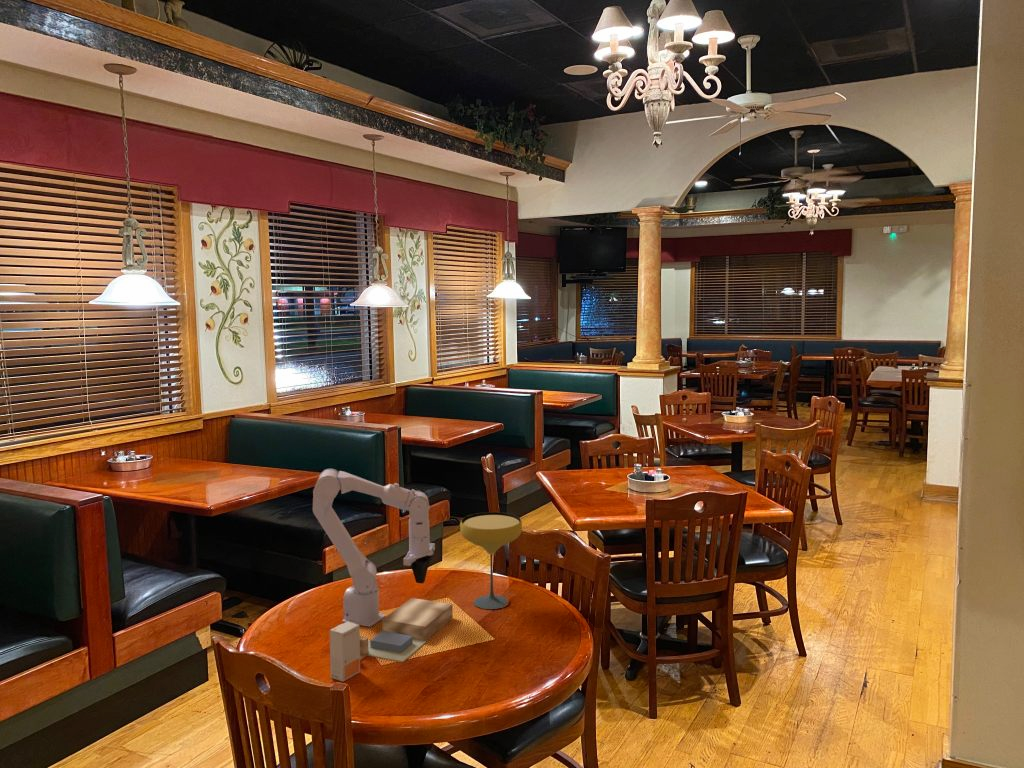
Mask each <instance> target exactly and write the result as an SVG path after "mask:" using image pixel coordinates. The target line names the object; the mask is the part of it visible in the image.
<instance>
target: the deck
mask: <svg viewBox="0 0 1024 768" xmlns="http://www.w3.org/2000/svg"><path fill="white" fill-rule="evenodd" d="M453 614H454V613H453V604H452V603H447V602H440V601H436V600H435V601H434V600H427V599H422V598H415V597H411V598H410V599H408V600H407V601H406V602H404V603H403V604H401V605H400V606H399V607H397V608H396V609H395V610H393V611H392V612H390V613H389V614H387V615H385V617H384V618H382V619H381V620H382V631H386V632H392V633H397V634H403V635H409V636H413V639H416V640H422V641H426V642H427V641H428V639H430V638H431V637H432V636H433V635H435V633H437V632H438V631H439V630H440V629H442V628H443V627H444V626H445V625H446V624H447V623H449V622H450V621H451V620H452V619H453Z"/></svg>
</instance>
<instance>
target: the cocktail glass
mask: <svg viewBox="0 0 1024 768" xmlns="http://www.w3.org/2000/svg"><path fill="white" fill-rule="evenodd" d="M522 529H523V524H522V519H521V518H520V517H519V516H517V515H515V514H512V513H507V512H506V513H505V512H498V511H490V512H488V511H487V512H479V513H472V514H469V515H466V516H464V517H463V518H462V519H461V520H460V526H459V530H460V534H461V536H462V537H463V538H464V539H465V540H466V541H467V542H470V543H471V544H474V545H477V546H479V547H481V548H483V549H484V550H485V551H486V553H487V554H488V555H489V556H490V559H489V561H490V562H489V563H490V582H489V583H490V586H489V587H490V588H489V594H487V595H486V594H485V595H486V596H485V595H481V596H482V597H481V596H478V597H479V598H478V597H476V598H475V599H474V600H473V605H474V606H475V607H476V606H477V608H478V607H480V608H479V609H481V608H484V609H483V610H485V609H497V608H502V607H504V606H505V605H506V604H507V602H508V600H506V598H504V597H505V596H504V595H500V596H499V594H495V592H494V580H493V579H494V578H493V577H494V575H493V574H494V572H493V571H494V570H493V564H494V563H493V555H494V554H495V553H497V551H498V549H500V548H501V547H504V546H505V545H508V544H510V543H512V542H513V541H515V540H516V539H518V538H519V536H520V535H521V533H522ZM503 596H504V597H503ZM502 609H503V608H502ZM497 610H498V609H497Z"/></svg>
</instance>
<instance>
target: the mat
mask: <svg viewBox="0 0 1024 768" xmlns="http://www.w3.org/2000/svg"><path fill="white" fill-rule="evenodd" d="M426 643H427V640H426V641H422V640H416V639H413V644H412V645H410V646H409V647H408V648H407V649H406V650H405V651H403V652H402V653H396V652H391V651H385V650H380V649H375V648H370V640H368V651H369V653H368V654H367V656H368V657H373V658H379V659H383V660H389V661H393V662H394V661H395V662H398V663H404V662H405V661H406V660H407V659H409V658H410V657H411V656H412V655H414V654H415V653H416V652H417V651H418V650H419V649H420V648H422V647H423V646H424V645H425V644H426Z"/></svg>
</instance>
